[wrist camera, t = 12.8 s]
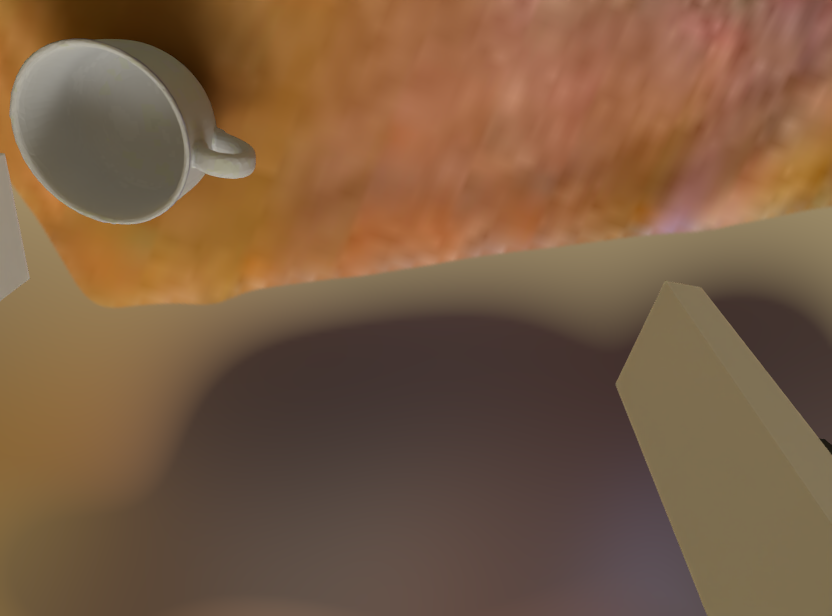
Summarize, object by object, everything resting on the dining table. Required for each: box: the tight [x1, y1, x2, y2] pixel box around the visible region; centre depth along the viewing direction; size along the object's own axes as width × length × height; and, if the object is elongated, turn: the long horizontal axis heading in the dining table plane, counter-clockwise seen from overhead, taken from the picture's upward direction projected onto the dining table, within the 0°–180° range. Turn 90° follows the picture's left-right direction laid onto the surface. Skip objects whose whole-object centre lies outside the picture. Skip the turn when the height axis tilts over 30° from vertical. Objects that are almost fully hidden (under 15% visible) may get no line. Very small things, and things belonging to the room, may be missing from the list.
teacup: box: [10, 39, 256, 225], centre depth 37 cm, size 14×11×8 cm
